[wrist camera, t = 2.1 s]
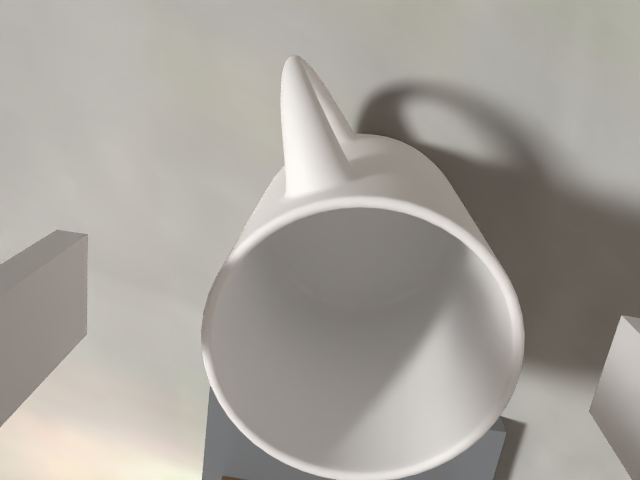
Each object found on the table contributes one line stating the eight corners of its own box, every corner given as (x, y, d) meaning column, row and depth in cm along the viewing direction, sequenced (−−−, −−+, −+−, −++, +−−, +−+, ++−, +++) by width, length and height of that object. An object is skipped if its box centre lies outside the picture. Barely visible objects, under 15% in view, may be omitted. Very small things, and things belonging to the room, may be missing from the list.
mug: (415, 17, 23) (462, 4, 13) (475, 291, 26) (550, 452, 16) (208, 80, 24) (100, 114, 14) (293, 333, 28) (257, 507, 17)
